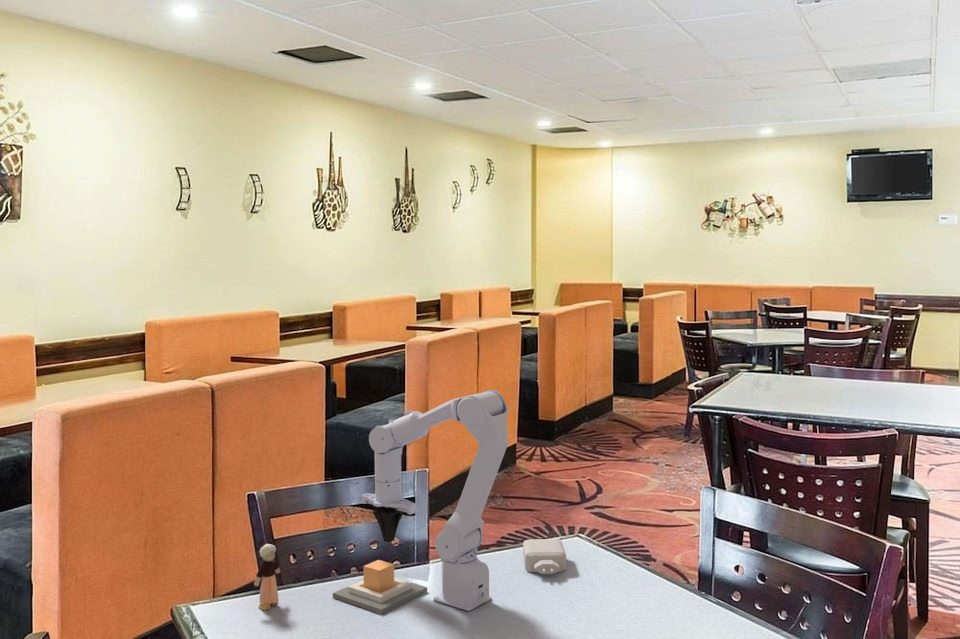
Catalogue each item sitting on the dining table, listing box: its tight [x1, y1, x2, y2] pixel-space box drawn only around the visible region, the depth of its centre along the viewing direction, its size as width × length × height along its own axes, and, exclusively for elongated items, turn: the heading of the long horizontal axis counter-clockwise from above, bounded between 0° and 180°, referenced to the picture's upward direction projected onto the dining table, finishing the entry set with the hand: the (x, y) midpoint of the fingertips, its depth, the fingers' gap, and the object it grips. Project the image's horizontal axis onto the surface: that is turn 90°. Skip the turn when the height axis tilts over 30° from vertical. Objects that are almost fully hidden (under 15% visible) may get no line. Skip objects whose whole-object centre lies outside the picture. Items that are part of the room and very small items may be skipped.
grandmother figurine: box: [253, 543, 281, 611], centre depth 164 cm, size 8×4×13 cm, turn 168°
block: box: [362, 559, 395, 593], centre depth 168 cm, size 4×4×6 cm
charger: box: [522, 538, 567, 575], centre depth 183 cm, size 5×9×15 cm
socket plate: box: [332, 576, 428, 615], centre depth 169 cm, size 14×14×2 cm
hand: (389, 540), depth 175 cm, fingers closed
